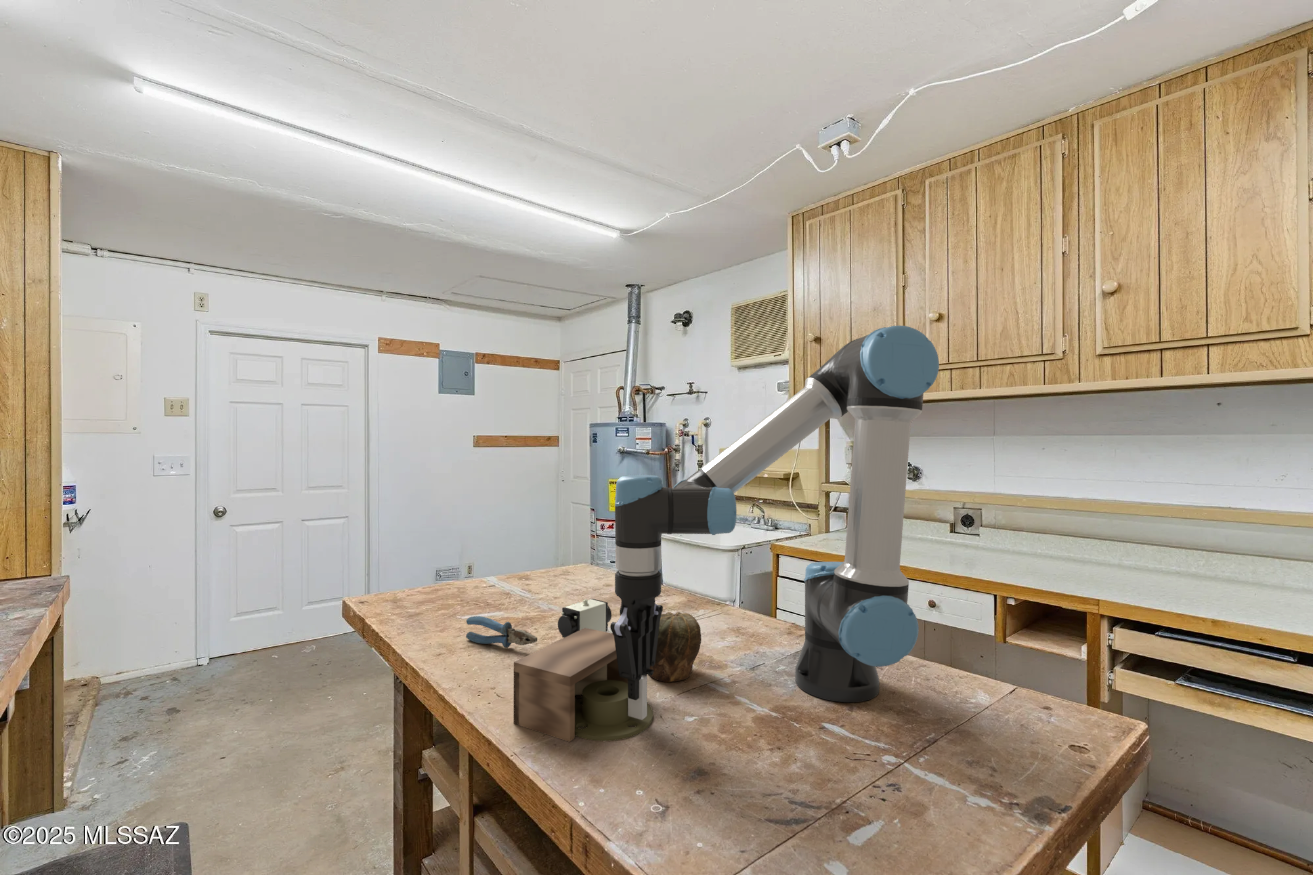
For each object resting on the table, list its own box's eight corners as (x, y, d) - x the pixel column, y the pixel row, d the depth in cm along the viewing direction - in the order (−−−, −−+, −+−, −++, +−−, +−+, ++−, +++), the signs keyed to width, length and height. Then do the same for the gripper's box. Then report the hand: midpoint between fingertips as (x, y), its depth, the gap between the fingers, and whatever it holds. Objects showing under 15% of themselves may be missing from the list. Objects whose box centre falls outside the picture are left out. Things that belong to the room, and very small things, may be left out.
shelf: (635, 693, 106) (636, 638, 106) (569, 741, 89) (570, 676, 89) (584, 679, 111) (584, 627, 111) (513, 723, 94) (513, 662, 94)
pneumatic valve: (612, 650, 126) (612, 595, 126) (572, 667, 117) (572, 608, 117) (594, 644, 130) (594, 591, 130) (554, 660, 121) (554, 603, 121)
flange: (543, 692, 96) (606, 722, 86) (609, 665, 107) (671, 689, 97) (543, 720, 96) (606, 753, 86) (609, 690, 107) (671, 717, 97)
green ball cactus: (697, 688, 108) (697, 624, 108) (639, 683, 110) (639, 620, 110) (704, 665, 118) (704, 607, 118) (651, 661, 120) (651, 603, 120)
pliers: (538, 654, 124) (539, 626, 124) (532, 657, 123) (532, 629, 123) (471, 638, 134) (471, 612, 134) (464, 640, 132) (464, 615, 132)
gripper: (638, 560, 101) (638, 695, 101) (595, 576, 90) (595, 727, 90) (677, 565, 98) (676, 704, 98) (637, 582, 86) (636, 740, 86)
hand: (637, 715), depth 94 cm, fingers closed
